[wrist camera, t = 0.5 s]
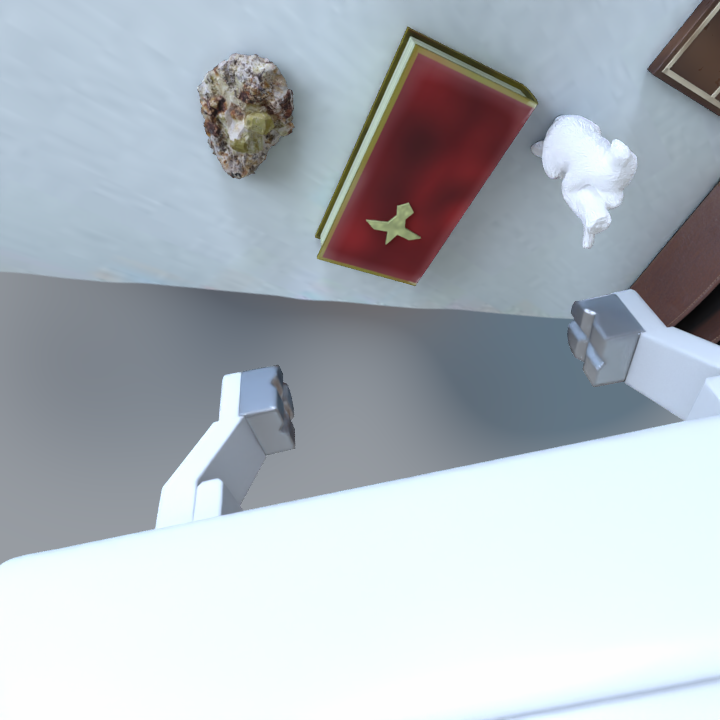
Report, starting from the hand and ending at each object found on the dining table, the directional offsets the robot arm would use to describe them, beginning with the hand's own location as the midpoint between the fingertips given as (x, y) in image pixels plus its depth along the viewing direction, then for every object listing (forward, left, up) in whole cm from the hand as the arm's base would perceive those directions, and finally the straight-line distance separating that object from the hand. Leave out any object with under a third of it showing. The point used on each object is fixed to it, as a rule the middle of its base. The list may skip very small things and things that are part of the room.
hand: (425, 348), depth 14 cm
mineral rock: (+12, -3, -36) cm, 38 cm away
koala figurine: (+3, +25, -36) cm, 44 cm away
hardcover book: (+11, +13, -36) cm, 40 cm away
